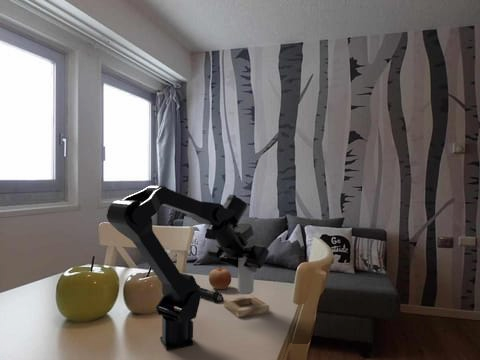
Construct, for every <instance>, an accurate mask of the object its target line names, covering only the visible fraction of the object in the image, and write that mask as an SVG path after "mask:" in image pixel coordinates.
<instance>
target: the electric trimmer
mask: <svg viewBox="0 0 480 360" xmlns="http://www.w3.org/2000/svg"><path fill="white" fill-rule="evenodd" d="M199 290H200V292H201V296H200V298H201V297H202V298H205V299H208V300H210V301H213V302H214V303H215V304H219V303H222V302H224V300H225V299H224V296H223V295H222V293H221V292H219V291H217V290H216V291H213V290H209V289H206V288H204V287H200V288H199Z"/></svg>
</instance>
